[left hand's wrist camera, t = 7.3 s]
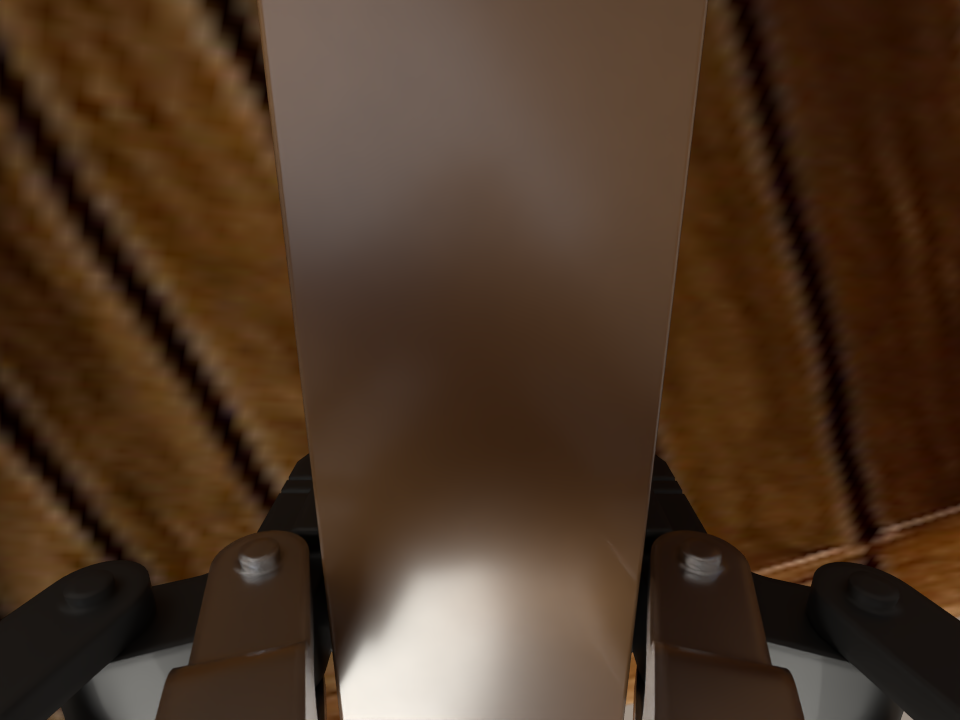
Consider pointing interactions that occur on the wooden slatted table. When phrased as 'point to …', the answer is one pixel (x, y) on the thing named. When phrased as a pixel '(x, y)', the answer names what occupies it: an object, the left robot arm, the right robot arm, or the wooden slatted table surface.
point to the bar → (482, 332)
